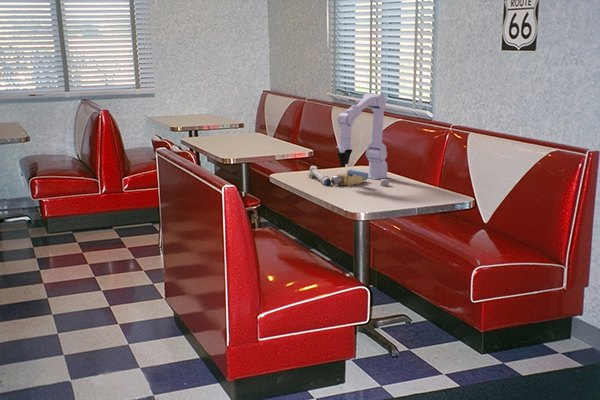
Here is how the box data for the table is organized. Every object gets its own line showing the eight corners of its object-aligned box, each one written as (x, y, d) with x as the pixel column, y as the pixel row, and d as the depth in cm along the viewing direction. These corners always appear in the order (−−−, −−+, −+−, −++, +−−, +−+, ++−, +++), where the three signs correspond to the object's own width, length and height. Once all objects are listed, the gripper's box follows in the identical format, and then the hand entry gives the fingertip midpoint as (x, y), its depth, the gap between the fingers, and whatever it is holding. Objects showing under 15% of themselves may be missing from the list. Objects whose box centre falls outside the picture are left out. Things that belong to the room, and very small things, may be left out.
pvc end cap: (384, 184, 368) (384, 178, 367) (390, 185, 365) (390, 180, 364) (378, 185, 365) (378, 179, 365) (384, 186, 362) (384, 180, 362)
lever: (350, 173, 370) (350, 168, 369) (368, 177, 359) (369, 173, 359) (345, 174, 368) (345, 169, 367) (364, 178, 358) (364, 173, 357)
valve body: (360, 180, 378) (360, 171, 377) (369, 182, 372) (369, 173, 371) (329, 184, 365) (329, 175, 364) (338, 187, 359) (338, 177, 358)
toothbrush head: (323, 178, 361) (307, 163, 383) (322, 191, 363) (306, 175, 385) (333, 178, 362) (316, 163, 385) (332, 190, 365) (315, 175, 387)
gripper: (340, 135, 367) (339, 162, 370) (334, 139, 353) (333, 167, 356) (354, 136, 365) (353, 163, 368) (348, 139, 351) (347, 168, 354)
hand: (344, 165), depth 362 cm, fingers open, 7 cm apart
